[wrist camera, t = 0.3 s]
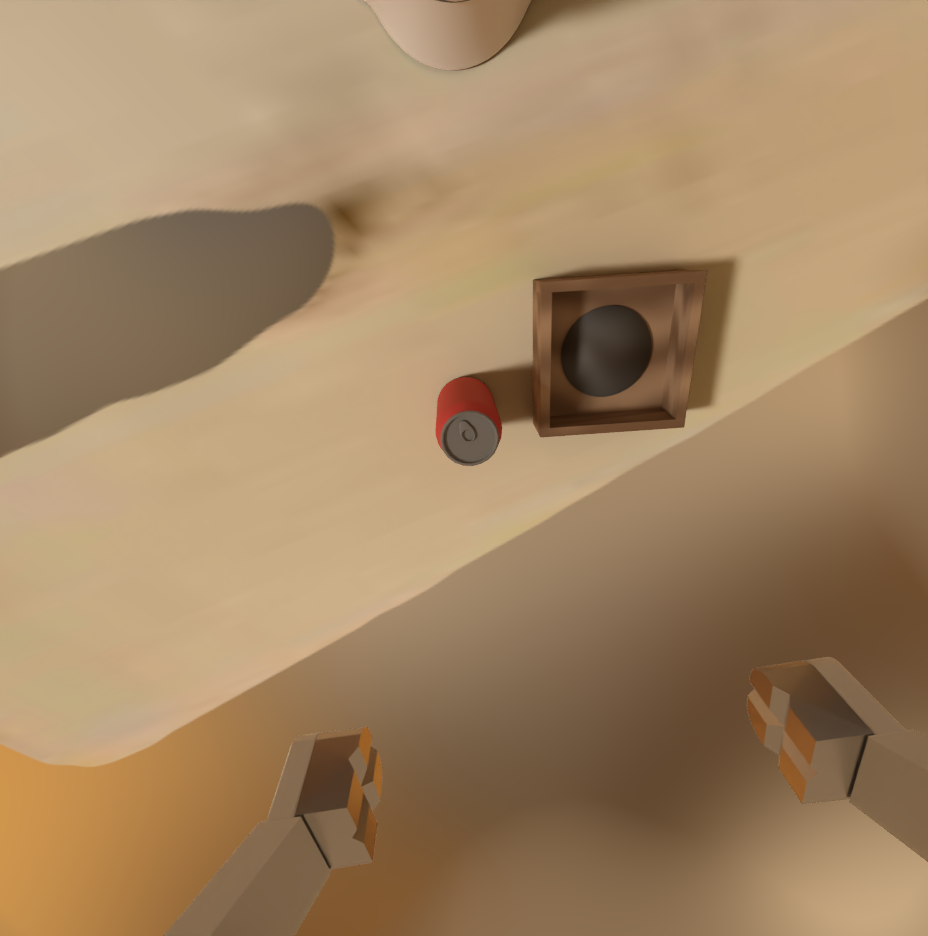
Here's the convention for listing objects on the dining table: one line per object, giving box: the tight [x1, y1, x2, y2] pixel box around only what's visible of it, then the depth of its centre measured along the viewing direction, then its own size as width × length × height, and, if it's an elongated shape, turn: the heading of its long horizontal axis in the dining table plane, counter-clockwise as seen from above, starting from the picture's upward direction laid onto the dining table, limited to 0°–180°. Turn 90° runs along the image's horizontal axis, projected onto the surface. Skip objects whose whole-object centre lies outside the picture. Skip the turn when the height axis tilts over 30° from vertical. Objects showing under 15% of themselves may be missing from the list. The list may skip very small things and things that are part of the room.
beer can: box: [436, 377, 502, 466], centre depth 49 cm, size 7×7×12 cm
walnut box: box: [533, 270, 707, 437], centre depth 50 cm, size 16×16×5 cm
